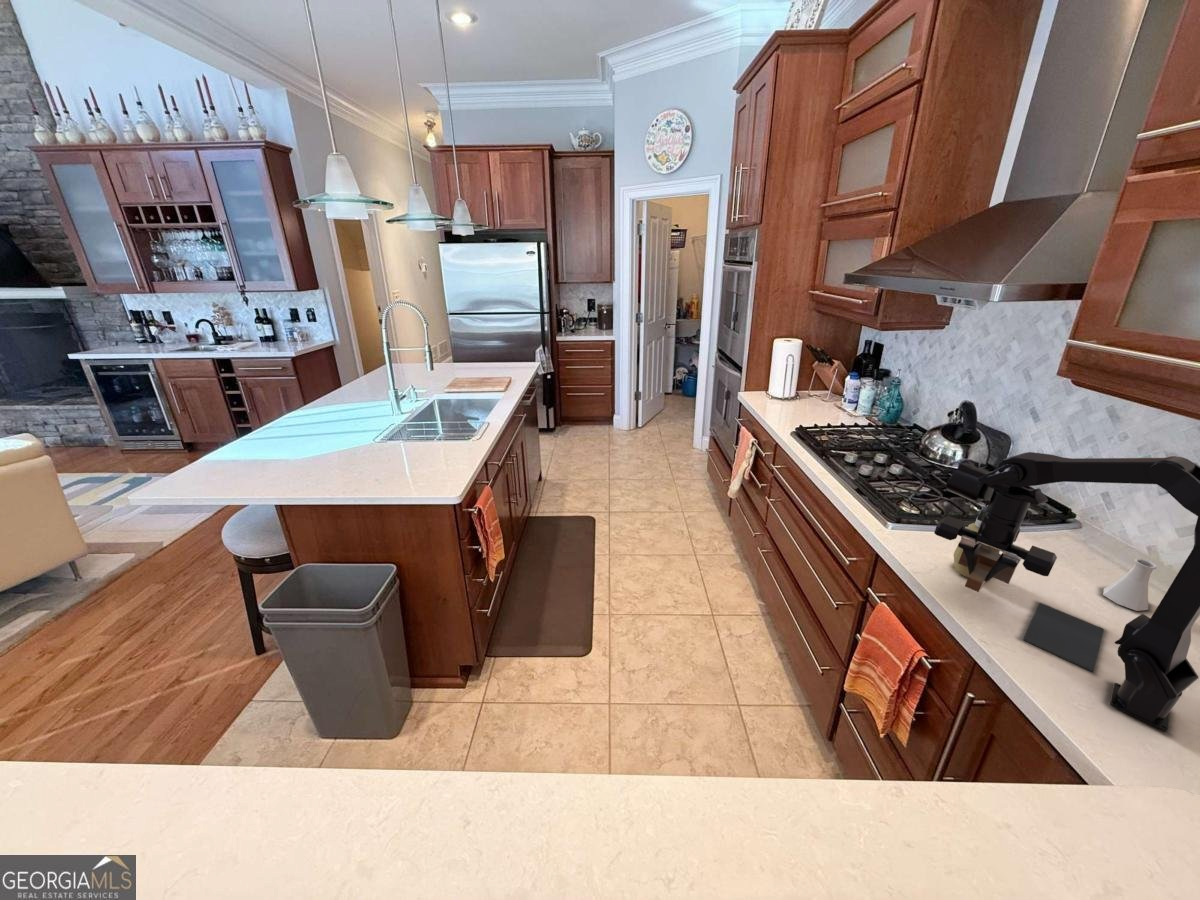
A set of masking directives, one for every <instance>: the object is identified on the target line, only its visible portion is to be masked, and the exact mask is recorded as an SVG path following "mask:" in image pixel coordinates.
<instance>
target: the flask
mask: <svg viewBox="0 0 1200 900" xmlns="http://www.w3.org/2000/svg"><path fill="white" fill-rule="evenodd" d="M1157 566H1158V565H1157V564H1156V563H1154V562H1152V561H1150V560H1147V559H1143V558H1135V559H1134V565H1133V566H1132V568H1131V569H1130V570H1129V571H1128V572H1127V573H1126V574H1124V575H1122V576H1121V577H1120V578H1118V579H1117V580H1116V581H1114V582H1112V583H1111V584H1109V585H1108V586H1106V587H1104V588H1103V594H1102V595H1103V596H1104V597H1106V598H1107V599H1109V600H1110V601H1111V602H1114V603H1115V604H1117V605H1119V606H1122V607H1124V608H1127V609H1130V610H1132V611H1137V612H1138V611H1139V612H1140V611H1148V610H1149V581H1150V578H1151V574H1152V572H1153V571H1154V570H1156V569H1157Z"/></svg>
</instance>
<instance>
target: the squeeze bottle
mask: <svg viewBox="0 0 1200 900" xmlns="http://www.w3.org/2000/svg"><path fill="white" fill-rule="evenodd" d="M981 522H982V521H979V520H977V518H976V519H975V521H974V522H972V523H970V524H968V526H967V527H966V528H967V529H969V530H972V531H975V532H978V530H979V527H980V525H981ZM960 541H961V539H960ZM960 541H959V542H960ZM980 547H983V548H985V549H988V550H991V551H993V552H996V553H999V554H1000V552H1001V551H999V550H996V549H994V548H991V547H988V546H986V545H983V544H981V546H980ZM962 551H963V549H962V548H960V547H958V545H957V546H956V548H955V550H954V552H953V565H954V569H955V571H956V572H957V573H958V574H960V575H962V576H964V577H965V578H968V577H969V571H968V567H966V566H963V565H961V564H958V562H959V559H960V557H961V554H962Z"/></svg>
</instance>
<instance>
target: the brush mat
mask: <svg viewBox="0 0 1200 900" xmlns="http://www.w3.org/2000/svg"><path fill="white" fill-rule="evenodd" d="M1103 634H1104V627H1103V628H1102V627H1100V626H1098V625H1095V624H1093V623H1090V622H1088V621H1085V620H1083V619H1081V618H1079V617H1076V616H1073V615H1071V614H1069V613H1066V612H1063V611H1061V610H1059V609H1056V608H1054V607H1052V606H1049V605H1046V604H1044V603H1042V602H1039V603H1038V605H1037V608H1036V610H1035V612H1034V614H1033V616H1032V619H1031V621H1030V623H1029V625H1028V627H1027V629H1026V632H1025V634H1024V637H1023V638H1022V641H1024V642H1026V643H1029V644H1030V645H1033V646H1035V647H1037V648H1039V649H1041V650H1044V651H1046V652H1047V653H1050V654H1052V655H1053V656H1056V657H1059V658H1060V659H1063V660H1065V661H1067V662H1069V663H1071V664H1074V665H1075V666H1078V667H1080V668H1082V669H1085V670H1087V671H1089V672H1090V673H1094V670H1095V665H1096V662H1097V658H1098V653H1099V650H1100V649H1099V648H1100V645H1101V643H1102V638H1103Z"/></svg>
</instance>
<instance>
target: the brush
mask: <svg viewBox="0 0 1200 900" xmlns="http://www.w3.org/2000/svg"><path fill="white" fill-rule="evenodd" d="M1001 554H1002V553H1000V552H999V553H996V552H993V551H991V550H988V549H985V548H983V547H980V549H979V553H978V557H977V562H976V566H975V569H974V570H973V571H972V573H971V574H970V575H969V577H967V579H966V581H965V584H964V587H965V588H967V589H970V590H972V591H975V592H977V593H979V592H980V591H981V589H982V588H983V586H984V585H985V583H987V582H986V581H985V579H986V576H987V575H988V573H989V572H990V570H991V569H992V567H993V566H994V564H995V563H996V562H997V560H998V559H999V557H1000V556H1001ZM958 564H961V565H963V566H966V567H968V565H967V560H966V557H965V554H964V551H962V554H961V557H960V559H959V562H958ZM1016 569H1017V567H1016V568H1011V567H1007V568H1006V569H1004V570H1002V571H1000V572H998V573H997V574H996V575H995V576H994V577H992V579H995V580H997V581H1000V582H1003V583H1005V584H1007V585H1009V584H1010V582H1011V580H1012V578H1013V576H1014V574H1015V571H1016Z"/></svg>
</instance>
